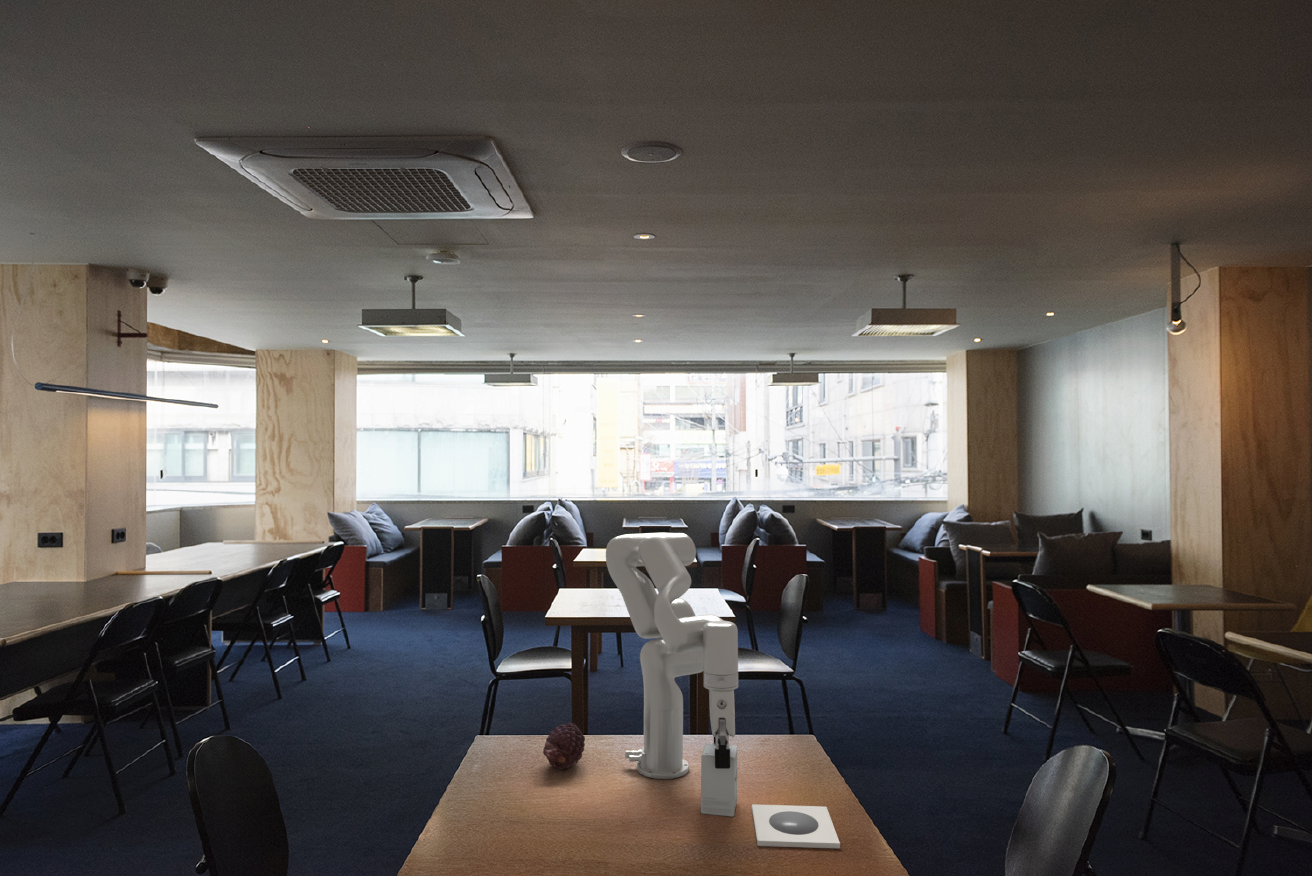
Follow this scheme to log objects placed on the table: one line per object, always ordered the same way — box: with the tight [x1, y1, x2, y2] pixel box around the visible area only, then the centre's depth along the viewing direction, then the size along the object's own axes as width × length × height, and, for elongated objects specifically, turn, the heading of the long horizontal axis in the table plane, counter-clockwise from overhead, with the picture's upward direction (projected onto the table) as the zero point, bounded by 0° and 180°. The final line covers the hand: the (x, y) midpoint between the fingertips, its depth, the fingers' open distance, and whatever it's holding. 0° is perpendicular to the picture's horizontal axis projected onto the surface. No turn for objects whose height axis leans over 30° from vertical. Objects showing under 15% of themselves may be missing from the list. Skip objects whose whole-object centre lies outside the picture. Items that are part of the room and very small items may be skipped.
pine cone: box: [542, 722, 586, 770], centre depth 195 cm, size 18×10×10 cm, turn 171°
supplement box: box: [700, 742, 739, 817], centre depth 172 cm, size 7×7×13 cm
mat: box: [751, 803, 841, 849], centre depth 164 cm, size 16×16×1 cm
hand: (721, 759), depth 172 cm, fingers open, 9 cm apart
